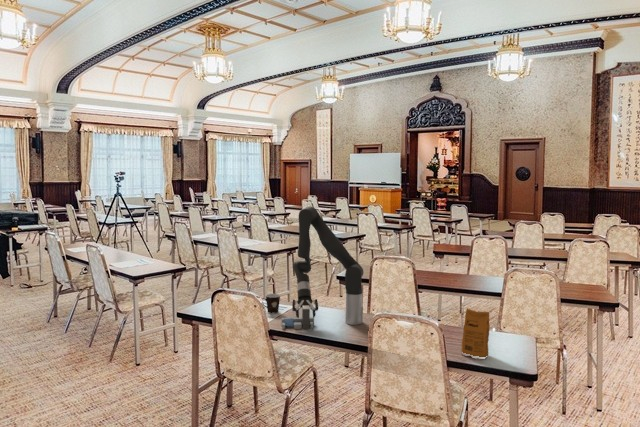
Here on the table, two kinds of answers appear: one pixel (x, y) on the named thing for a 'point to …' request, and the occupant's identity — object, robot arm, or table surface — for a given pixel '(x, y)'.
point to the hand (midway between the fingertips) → (306, 317)
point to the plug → (305, 316)
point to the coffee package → (476, 333)
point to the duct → (295, 322)
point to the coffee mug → (272, 302)
